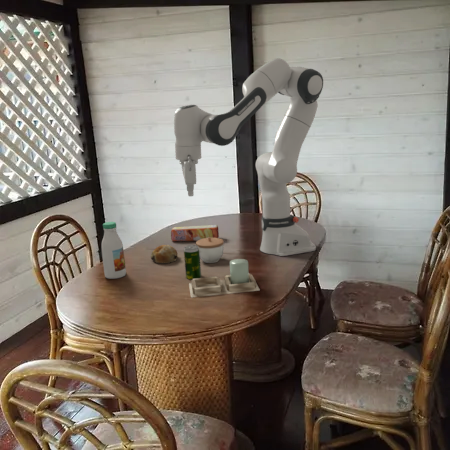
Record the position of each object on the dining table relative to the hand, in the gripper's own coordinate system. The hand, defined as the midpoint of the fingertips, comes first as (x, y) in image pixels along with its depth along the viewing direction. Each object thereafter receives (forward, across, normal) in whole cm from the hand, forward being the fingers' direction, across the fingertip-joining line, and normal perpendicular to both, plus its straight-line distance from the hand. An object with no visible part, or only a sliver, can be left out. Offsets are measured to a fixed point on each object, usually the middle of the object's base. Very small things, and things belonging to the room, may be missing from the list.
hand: (190, 193), depth 166 cm
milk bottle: (+30, +4, +28) cm, 42 cm away
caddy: (+29, -20, -9) cm, 36 cm away
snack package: (+29, +41, -3) cm, 51 cm away
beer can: (+29, -8, 0) cm, 30 cm away
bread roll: (+30, +17, +11) cm, 36 cm away
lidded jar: (+29, +11, -7) cm, 32 cm away
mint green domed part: (+28, -20, -14) cm, 37 cm away
